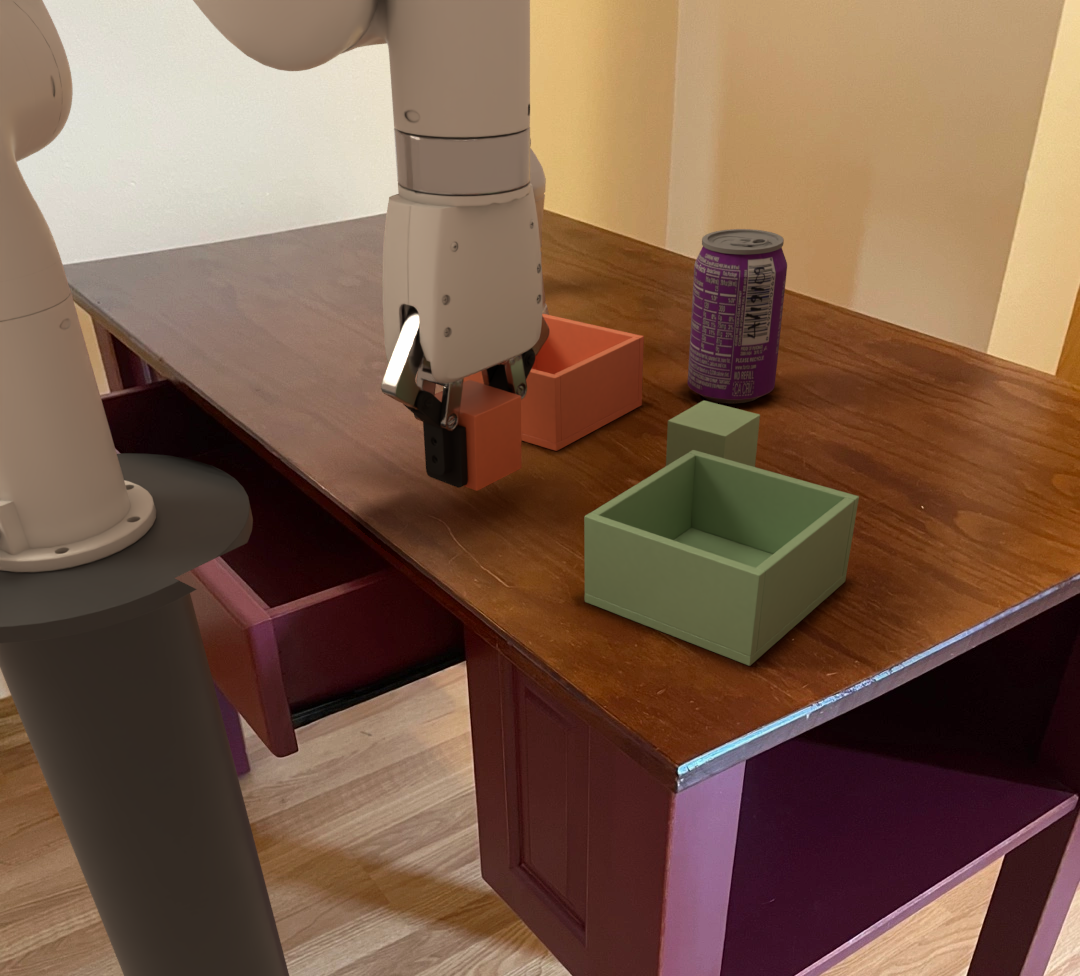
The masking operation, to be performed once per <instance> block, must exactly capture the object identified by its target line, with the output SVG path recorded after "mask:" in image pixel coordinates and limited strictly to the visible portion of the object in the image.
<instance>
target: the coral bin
mask: <svg viewBox="0 0 1080 976" xmlns="http://www.w3.org/2000/svg"><path fill="white" fill-rule="evenodd" d="M542 316H543V318H544V319H545V321H546V323H547V325H548V327H549V336H548V338H547V340H546V342H545V343H544V345H543V346H542V348H541V349H540V351H539V352H538V354H537V356H535V362H534V365H533V367H532V369H531V371H530V373H529V375H528V377H527V379H526V383H527V393H526V395H525V397H524V398H523V399H522V400H521V442H522V441H523V442H525V443H529V444H533V445H535V446H539V447H541V448H545V449H548V450H551V451H554V452H558V451H560V450H561V449H563V448H565V447H567V446H568V445H571V444H573V443H574V442H577V441H578V440H580V439H582V438H584V437H585V436H587V435H589V434H591V433H593V432H595V431H597V430H599V429H601V428H602V427H604V426H606V425H608V424H609V423H611V422H613V421H615V420H617V419H619V418H621V417H623V416H624V415H626V414H628V413H630V412H632V411H633V410H635V409H637V408H639V407H641V406H642V405H643V380H644V379H643V378H644V377H643V375H644V346H645V344H644V343H645V342H644V341H645V336H644V335H641V334H636V333H631V332H626V331H622V330H618V329H615V328H614V329H613V328H609V327H604V326H599V325H595V324H592V323H591V324H590V323H587V322H583V321H578V320H573V319H568V318H564V317H560V316H555V315H551V314H549V315H547V314H542ZM468 380H472V381H475V382H478V383H481V384H484V381H483V377H482V372H481V371H480V372H478V373H475V374H473V375H470V376H468V377H465V378H464V381H463V382H465V381H468Z"/></svg>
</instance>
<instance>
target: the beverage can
mask: <svg viewBox="0 0 1080 976" xmlns="http://www.w3.org/2000/svg"><path fill="white" fill-rule="evenodd" d="M784 241H785V239H784V236H781V235H780V234H778V233H775V232H772V231H767V230H762V229H751V228H733V229H732V228H731V229H723V230H722V229H721V230H715V231H712V232H709V233H707V234H705V235H703V236H702V238H701V246H702V247H701V249H700V251H699V253H698V255H697V257H696V259H695V262H694V265H693V282H692V299H691V300H692V301H691V317H690V319H691V320H690V333H689V335H690V336H689V349H688V350H689V351H688V371H687V386H688V387H689V389H690V390H691V391H693V393H696V394H698V395H699V396H702V398H704V399H706V400H707V401H710V402H713V403H719V404H729V405H730V404H732V405H733V404H734V405H735V404H744V403H749V402H752V401H755V400H757V399H758V398H761V397H763V396H766V395H768V394H769V393H771V392H772V391H773V390H774V389H775V385H776V379H777V378H776V377H777V369H778V356H779V350H780V349H779V348H780V341H781V340H780V339H781V330H782V319H783V311H784V302H785V292H786V283H787V274H788V273H787V272H788V262H787V259H786V256H785V253H784V250H783V246H784Z"/></svg>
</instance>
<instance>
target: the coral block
mask: <svg viewBox="0 0 1080 976" xmlns="http://www.w3.org/2000/svg"><path fill="white" fill-rule="evenodd" d="M442 394H443V390H441V391H439V392H435V397H436V398H437V399H438V400H439V401H440V402H442ZM458 425H460V426H463V427H465V429H466V447H467V472H468V481H467V484H466V485H465V486H464V487H465V488H468V489H470V490H474V491H475V492H478V491H480V490H482V489H484V488H486V487H488V486H490V485H492V484H494V483H495V482H498V481H499V480H502V479H503V478H506V477H508V476H509V475H511V474H513V473H515V472H517V471H519V470H521V469H522V467H523V466H522V465H523V463H522V460H523V459H522V457H523V456H522V440H521V396H520V395H517V394H514V393H510V392H507V391H504V390H501V389H497V388H494V387H491V386H488V385H485V384H481V383H478V382H475V381H472V380H468V381H465V382H463V389H462V397H461V406H460V414H459V421H458Z"/></svg>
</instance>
